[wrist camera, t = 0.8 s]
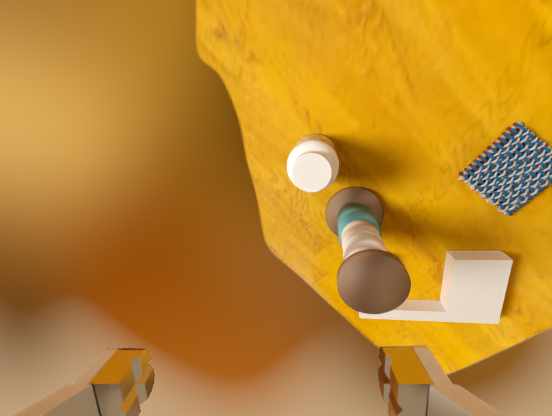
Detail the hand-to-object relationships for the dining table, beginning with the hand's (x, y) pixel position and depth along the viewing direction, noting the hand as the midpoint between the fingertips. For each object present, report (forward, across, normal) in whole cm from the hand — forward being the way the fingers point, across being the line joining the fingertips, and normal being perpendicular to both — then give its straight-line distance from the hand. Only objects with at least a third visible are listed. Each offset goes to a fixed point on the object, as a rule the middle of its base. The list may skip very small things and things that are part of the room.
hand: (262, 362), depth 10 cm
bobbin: (+37, -11, +5) cm, 39 cm away
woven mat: (+35, -33, -2) cm, 48 cm away
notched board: (+38, -23, +17) cm, 48 cm away
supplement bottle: (+37, -5, -5) cm, 38 cm away
